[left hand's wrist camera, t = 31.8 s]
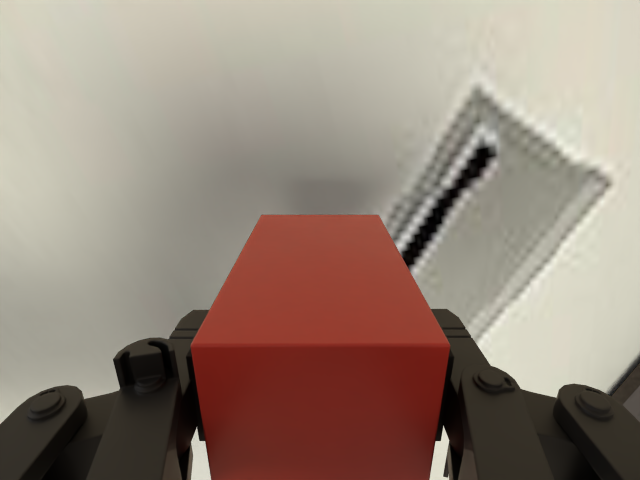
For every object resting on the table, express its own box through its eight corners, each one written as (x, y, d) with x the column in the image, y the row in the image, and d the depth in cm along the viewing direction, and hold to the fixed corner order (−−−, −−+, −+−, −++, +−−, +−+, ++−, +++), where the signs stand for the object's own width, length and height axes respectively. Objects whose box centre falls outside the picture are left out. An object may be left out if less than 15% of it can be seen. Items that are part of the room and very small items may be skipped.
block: (267, 325, 16) (218, 532, 8) (261, 214, 14) (189, 345, 6) (372, 325, 16) (422, 532, 8) (378, 214, 14) (451, 344, 6)
